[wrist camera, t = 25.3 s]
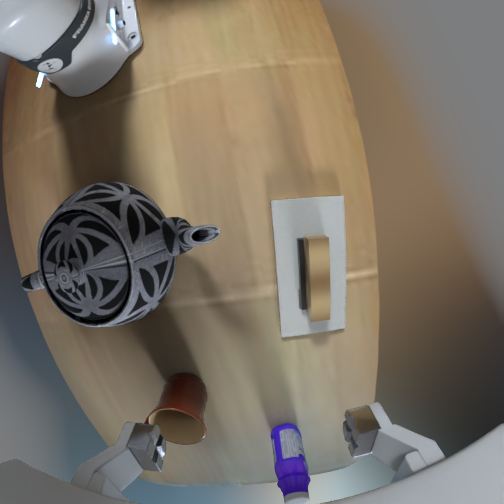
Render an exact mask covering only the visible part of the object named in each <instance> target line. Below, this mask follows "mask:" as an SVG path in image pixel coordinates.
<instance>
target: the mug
mask: <svg viewBox="0 0 504 504" xmlns="http://www.w3.org/2000/svg"><path fill="white" fill-rule="evenodd" d="M206 402H207V391H206V387H205V385H204V383H203V382H202V381H201V380H200V379H198V378H197V377H195V376H193V375H190V374H176V375H174V376H172V377H171V378H170V379H169V380H168V382H167V383H166V384H165V386H164V388H163V392H162V395H161V398H160V401H159V404H158V406H157V407H156V408H155V409H154V410H153V411H152V412H151V413H150V414H149V416H148V417H147V419H146V421H145V423H144V424H151V425H158V426H159V428H160V429H161V431H160V434H161V435H163V436H164V438H165V440H166V441H169V442H172V443H176V444H182V445H189V444H195V443H198V442H200V441H201V440H203V439H204V437H205V435H206V427H205V423H204V418H203V417H204V412H205V407H206Z"/></svg>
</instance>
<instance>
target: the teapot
mask: <svg viewBox="0 0 504 504" xmlns="http://www.w3.org/2000/svg"><path fill="white" fill-rule="evenodd" d="M220 233H221V232H220V229H219V228H218V227H216V226H214V225H202V226H195V227H192V226H190V224H189V223H188V222H187V221H186V220H185V219H182V218H179V217H171V218H166V217H165V216H164V214H163V212H162V211H161V209H160V208H159V207H158V205H157V204H156V203H155V202H154V201H153V200H152V199H151V198H150V197H149V196H148V195H146V194H145V193H144V192H142V191H140V190H139V189H137V188H135V187H133V186H131V185H128V184H125V183H120V182H100V183H96V184H92V185H89V186H87V187H84V188H82V189H81V190H79V191H77V192H75V193H74V194H73V195H71V196H70V197H69V198H67V199H66V200H65V201H64V202H63V203H62V204H61V205H60V206H59V207H58V208H57V210H56V211H55V212H54V213H53V214H52V216H51V217H50V218H49V220H48V221H47V223H46V224H45V226H44V228H43V230H42V233H41V235H40V239H39V244H38V267H39V270H38V271H36V272H34V273H31V274H29V275H27V276H25V277H23V278H22V280H21V284H22V287H23V289H24V290H25V291H26V292H31V291H35V290H38V289H42V288H45V290H46V292H47V294H48V295H49V297H50V299H51V300H52V302H53V303H54V304H55V306H56V307H57V308H58V309H59V310H60V311H61V312H62V313H63V314H64V315H66V316H67V317H68V318H70V319H71V320H73V321H75V322H77V323H79V324H82V325H85V326H89V327H110V326H119V325H124V324H128V323H131V322H134V321H136V320H138V319H140V318H142V317H144V316H146V315H147V314H149V313H150V312H151V311H153V310H154V309H155V308H156V307H157V306H158V305H159V304H160V303H161V302H162V300H163V299H164V297H165V296H166V295H167V293H168V291H169V289H170V287H171V284H172V282H173V278H174V274H175V268H176V255H179V254H182V253H185V252H187V251H189V250H190V249H191V248H192V247H193V246H197V245H202V244H206V243H209V242H211V241H213V240H215V239H216V238H217V237H219V235H220Z"/></svg>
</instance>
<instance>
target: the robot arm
mask: <svg viewBox="0 0 504 504" xmlns="http://www.w3.org/2000/svg"><path fill="white" fill-rule="evenodd" d="M133 37H135V38H134V39H132V38H133ZM142 43H143V38H142V34H141V29H140V24H139V19H138V14H137V8H136V3H135V0H0V52H3V53H5V54H8V55H10V56H12V57H14V58H16V60H17V62H18V63H20V64H22V65H23V66H26V67H27V68H29V69H31V70H34V71H37V72H40V73H39V77H38V80H37V84H36V86H37V87H41V83H42V79H43V75H44V76H46V77H47V80H48V81H49V82H51V83H54V84H56V85H57V86H58V87H59V88H60V90H61V91H62V92H63V93H64V94H66V95H68V96H71V97H80V96H85V95H88V94H90V93H92V92H94V91H96V90H98V89H99V88H101V87H102V86H103V85H105V84H106V83H107V82H108V81H109V80H110V79H111V78H112V77H113V76H114V75H115V74H116V73H117V72H118V70H119V69H120V68H121V66H122V65H123V63H124V62H125V60H126V59H127V58H128V56H130V55H131V54H132V53H133V52H135V51H136V50H137V49H138V48H139V47H140V46H141V45H142ZM345 419H346V420H345V421H344V422H343V434H344V438H345V440H346V441H347V442H349V447H348V448H349V451H350V454H351V456H352V458H355V457H359V456H363V455H367V454H371V455H372V456H373V457H375V458H376V459H378V460H379V461H381V462H383V463H384V464H385V465H387V466H388V467H390V468H391V469H393V470H394V471H396V474H395V476H394V478H393V480H392V481H391V484H389V485H386V486H383V487H380V488H377V489H374V490H371V491H368V492H365V493H361V494H358V495H354V496H351V497H347V498H343V499H339V500H335V501H330V502H326V503H321V504H504V423H503V424H501V425H499V426H497V427H496V428H495V429H493V430H492V431H490V432H489V433H488V434H486V435H485V436H483V437H482V438H481V439H479V440H477V441H476V442H474V443H472V444H471V445H469V446H468V447H466V448H464V449H463V450H461V451H459V452H457V453H456V454H454V455H452V456H450V457H448V458H447V459H446V458H445V456H444V454H443V453H442V452H441V450H440V449H439V447H438V445H437V444H436V442H435V441H433V440H431V439H428V438H426V437H423V436H421V435H419V434H416V433H414V432H412V431H410V430H407V429H405V428H403V427H400V426H398V425H396V424H395V425H392V423H391V422H390V420H389V418H388V416H387V415H386V413H385V411H384V410H383V408H382V406H381V405H380V403H379V402H376V403H373V404H369V405H365V406H361V407H357V408H354V409H350V410H346V412H345ZM160 431H161V429H160V428H159V426H158V425H151V424H143V423H134V422H126V423H125V425H124V427H123V429H122V431H121V434H120V436H119V438H118V440H117V443H116V445H112V446H110V447H109V448H107V449H105V450H104V451H102V452H101V453H99V454H98V455H96V456H94V457H93V458H91V459H89V460H88V461H86V462H85V463H83V464H81V465H79V466H78V468H77V470H76V472H75V475H74V477H73V478H72V481H71V483H67V482H65V481H62V480H60V479H57V478H55V477H53V476H50V475H48V474H46V473H44V472H42V471H39V470H37V469H35V468H33V467H31V466H29V465H28V464H26V463H24V462H22V461H20V460H17V459H13V460H10V461H7V462H4V463H1V464H0V504H139V503H134V502H130V501H128V499H127V498H126V497H125V496H124V495H123V494H122V493H121V491H122V490H123V489H124V488H125V487H126V486H128V485H129V484H130V483H131V482H132V481H133V480H134V479H135V478H136V477H137V476H139V475H140V474H141V473H142V472H143V471H144V470H149V471H159V472H161V468H162V465H163V460H162V458H161V457H162V456H163V455H165V453H166V440H165V438H164V436H163V435H161V434H160Z"/></svg>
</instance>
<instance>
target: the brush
mask: <svg viewBox="0 0 504 504" xmlns="http://www.w3.org/2000/svg"><path fill="white" fill-rule="evenodd" d="M297 252H298V270H299V291H300V308H301V310H307V314H308V316H309V318H310V320H311V322H317V321H324V320H330V249H329V237H327V236H326V235H324V234H312V235H303V238H297Z"/></svg>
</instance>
